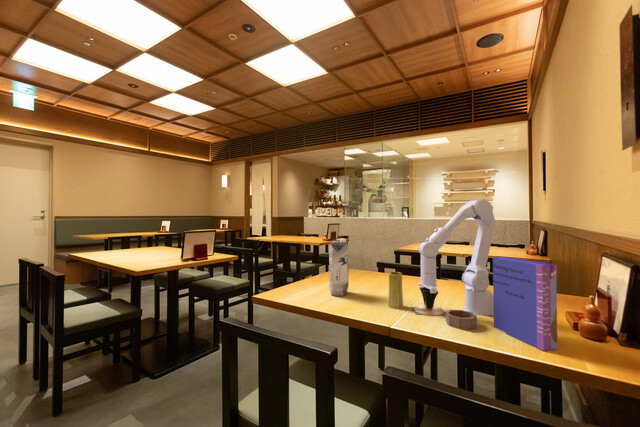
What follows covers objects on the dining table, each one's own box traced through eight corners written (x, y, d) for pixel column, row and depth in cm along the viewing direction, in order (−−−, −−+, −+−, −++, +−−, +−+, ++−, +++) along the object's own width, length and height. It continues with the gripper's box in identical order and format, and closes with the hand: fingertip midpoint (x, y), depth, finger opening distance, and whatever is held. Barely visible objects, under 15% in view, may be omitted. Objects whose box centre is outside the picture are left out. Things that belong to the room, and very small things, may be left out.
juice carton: (328, 296, 139) (328, 239, 139) (331, 290, 149) (331, 237, 150) (347, 296, 137) (347, 239, 138) (349, 291, 148) (348, 238, 148)
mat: (440, 308, 119) (440, 307, 119) (448, 316, 109) (448, 315, 109) (410, 307, 120) (410, 306, 120) (416, 315, 110) (416, 314, 110)
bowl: (469, 321, 104) (469, 310, 104) (480, 331, 95) (480, 318, 95) (443, 320, 105) (443, 309, 105) (451, 330, 96) (451, 318, 96)
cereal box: (557, 349, 82) (556, 264, 82) (543, 351, 81) (542, 264, 81) (505, 327, 99) (504, 256, 99) (493, 328, 98) (492, 256, 98)
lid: (438, 307, 120) (438, 293, 120) (447, 316, 109) (447, 300, 109) (411, 306, 121) (411, 292, 121) (417, 315, 110) (417, 300, 110)
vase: (403, 310, 117) (403, 274, 118) (388, 309, 119) (388, 274, 119) (402, 305, 123) (402, 271, 124) (387, 304, 125) (387, 271, 125)
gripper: (413, 269, 123) (414, 301, 122) (422, 276, 108) (422, 312, 108) (431, 269, 122) (431, 301, 122) (442, 276, 108) (442, 313, 107)
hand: (428, 307), depth 115 cm, fingers closed on lid, 2 cm apart
